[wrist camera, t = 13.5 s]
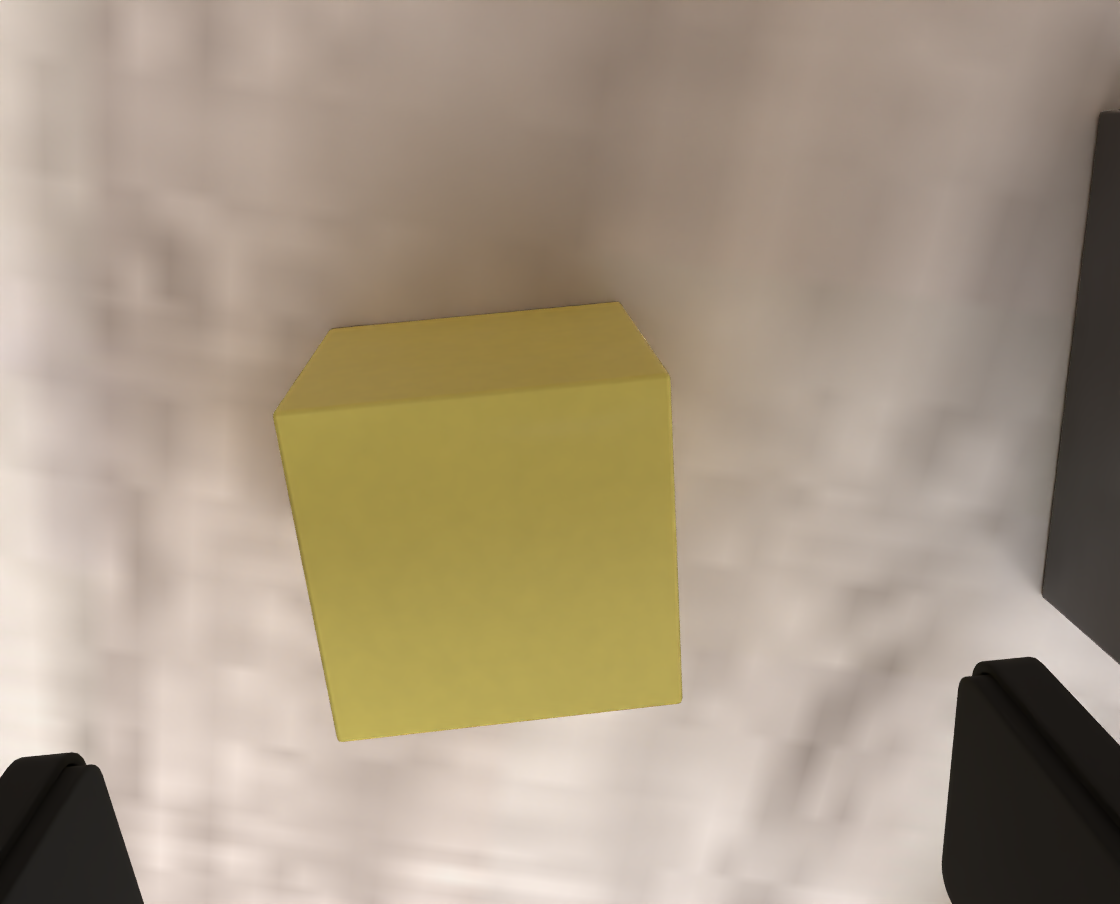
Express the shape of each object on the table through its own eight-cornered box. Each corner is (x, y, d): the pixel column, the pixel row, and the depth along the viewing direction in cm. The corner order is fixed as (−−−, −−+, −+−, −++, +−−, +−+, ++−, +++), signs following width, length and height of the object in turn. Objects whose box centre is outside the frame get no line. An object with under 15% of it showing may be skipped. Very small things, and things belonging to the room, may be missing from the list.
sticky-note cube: (328, 328, 20) (270, 412, 15) (620, 300, 21) (671, 373, 15) (372, 587, 23) (337, 744, 17) (635, 559, 23) (683, 705, 18)
